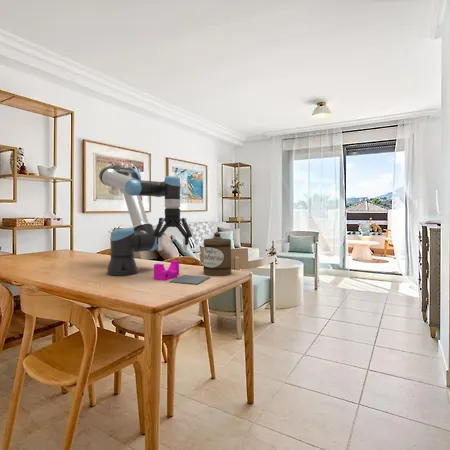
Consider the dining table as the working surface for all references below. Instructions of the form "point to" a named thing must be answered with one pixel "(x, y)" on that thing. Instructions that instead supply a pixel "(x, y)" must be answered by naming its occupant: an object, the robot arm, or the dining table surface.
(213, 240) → the wooden container
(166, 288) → the dining table surface
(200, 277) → the mat
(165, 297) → the dining table surface
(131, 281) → the dining table surface
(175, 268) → the toy block
